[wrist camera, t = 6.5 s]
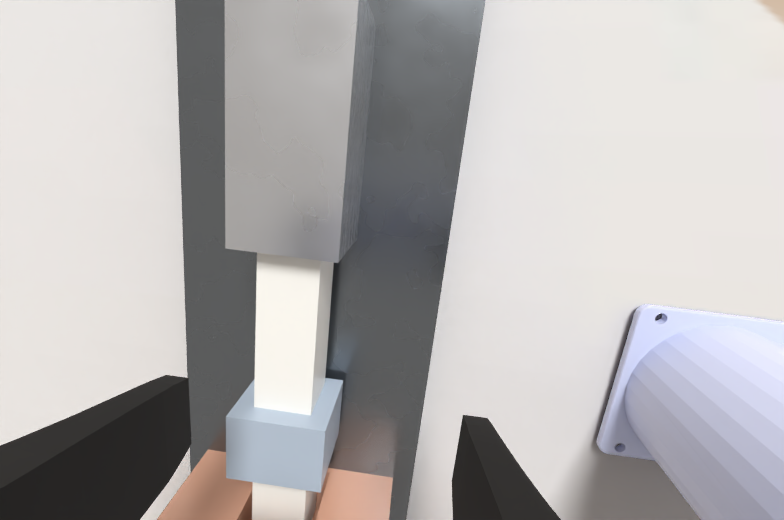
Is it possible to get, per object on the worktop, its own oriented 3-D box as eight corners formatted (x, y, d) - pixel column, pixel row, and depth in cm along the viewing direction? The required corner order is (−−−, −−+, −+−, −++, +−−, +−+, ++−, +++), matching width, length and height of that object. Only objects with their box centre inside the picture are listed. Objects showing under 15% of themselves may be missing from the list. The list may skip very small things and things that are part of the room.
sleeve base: (485, -15, 15) (513, -92, 10) (401, 536, 23) (396, 638, 18) (188, -43, 16) (86, -129, 11) (201, 504, 23) (144, 595, 18)
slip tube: (358, 204, 17) (341, 217, 13) (332, 504, 21) (314, 574, 17) (266, 192, 17) (225, 202, 13) (258, 492, 21) (226, 559, 17)
